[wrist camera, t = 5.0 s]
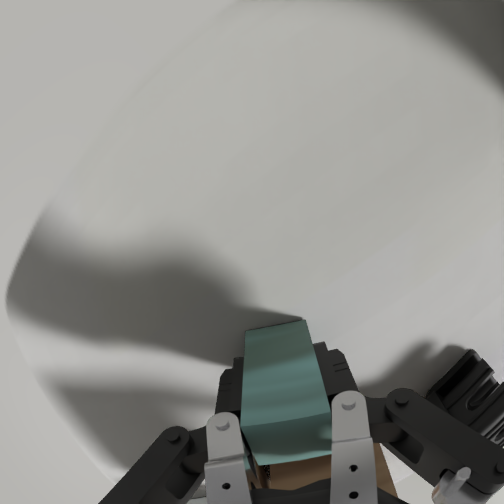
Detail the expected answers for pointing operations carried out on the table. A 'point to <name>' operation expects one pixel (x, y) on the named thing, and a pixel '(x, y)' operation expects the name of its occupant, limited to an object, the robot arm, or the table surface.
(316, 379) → the corded block
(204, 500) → the product box
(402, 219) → the table surface
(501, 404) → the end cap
